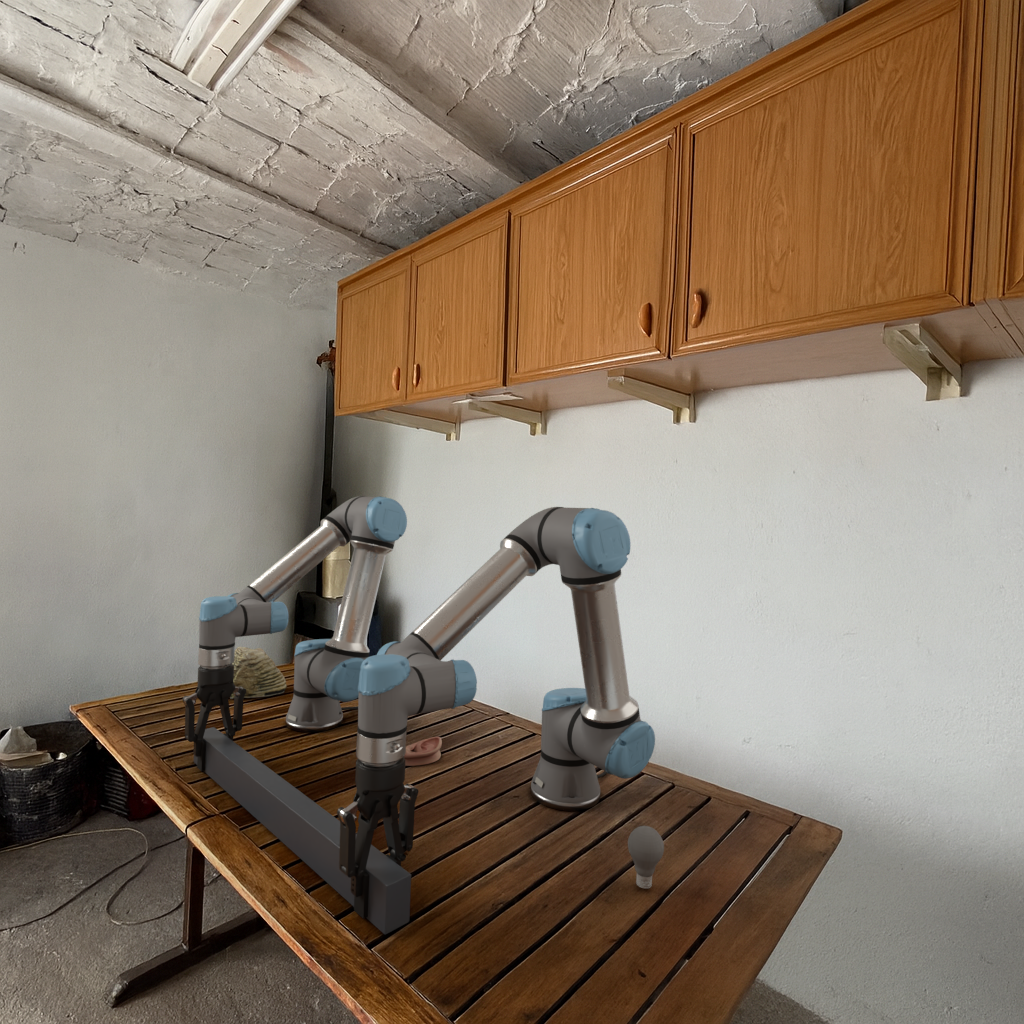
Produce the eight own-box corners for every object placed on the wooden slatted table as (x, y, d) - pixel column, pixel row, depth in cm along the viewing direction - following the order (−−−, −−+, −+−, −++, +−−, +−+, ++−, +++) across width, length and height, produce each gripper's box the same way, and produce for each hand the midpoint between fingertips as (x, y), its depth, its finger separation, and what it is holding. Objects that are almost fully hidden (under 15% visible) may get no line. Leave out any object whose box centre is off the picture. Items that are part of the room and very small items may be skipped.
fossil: (218, 695, 195) (220, 647, 195) (278, 685, 208) (279, 640, 207) (228, 703, 189) (230, 653, 188) (289, 692, 201) (290, 645, 201)
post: (193, 762, 148) (194, 731, 148) (213, 757, 151) (214, 726, 151) (384, 935, 93) (386, 886, 92) (409, 921, 96) (411, 874, 96)
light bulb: (621, 876, 110) (624, 818, 109) (655, 875, 110) (658, 819, 110) (631, 897, 104) (634, 837, 103) (666, 897, 104) (669, 837, 104)
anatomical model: (378, 746, 151) (397, 729, 163) (378, 762, 151) (396, 745, 163) (431, 753, 149) (446, 735, 160) (431, 770, 149) (445, 751, 160)
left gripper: (180, 674, 136) (177, 782, 136) (261, 662, 148) (257, 761, 149) (169, 667, 141) (165, 771, 142) (247, 656, 154) (244, 751, 154)
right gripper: (343, 781, 89) (337, 945, 89) (440, 750, 101) (434, 894, 102) (316, 764, 94) (311, 919, 95) (412, 736, 107) (407, 873, 107)
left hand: (212, 765), depth 145 cm, fingers closed on post, 4 cm apart
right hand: (375, 905), depth 98 cm, fingers closed on post, 4 cm apart
